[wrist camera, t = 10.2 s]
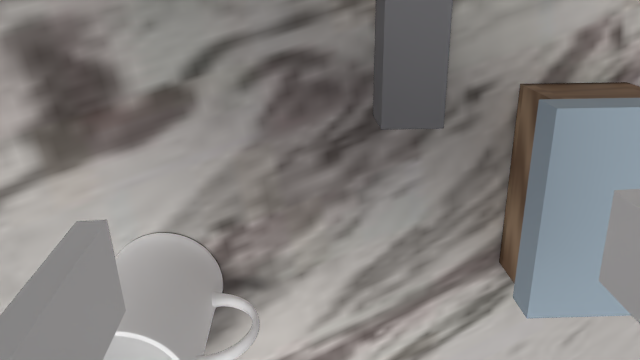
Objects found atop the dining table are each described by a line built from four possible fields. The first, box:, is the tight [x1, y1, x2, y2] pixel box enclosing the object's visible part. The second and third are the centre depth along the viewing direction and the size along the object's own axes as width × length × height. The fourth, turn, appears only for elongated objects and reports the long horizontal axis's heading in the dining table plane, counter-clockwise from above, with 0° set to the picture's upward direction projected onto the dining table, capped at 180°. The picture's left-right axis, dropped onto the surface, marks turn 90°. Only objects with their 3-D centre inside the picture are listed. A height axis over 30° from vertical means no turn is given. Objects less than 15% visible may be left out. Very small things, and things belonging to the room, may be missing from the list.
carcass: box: [499, 82, 640, 284], centre depth 37 cm, size 14×8×9 cm, turn 1°
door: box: [513, 98, 640, 318], centre depth 35 cm, size 14×9×2 cm, turn 1°
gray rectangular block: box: [373, 0, 453, 130], centre depth 35 cm, size 12×4×4 cm, turn 1°
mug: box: [103, 233, 260, 360], centre depth 37 cm, size 12×8×12 cm
